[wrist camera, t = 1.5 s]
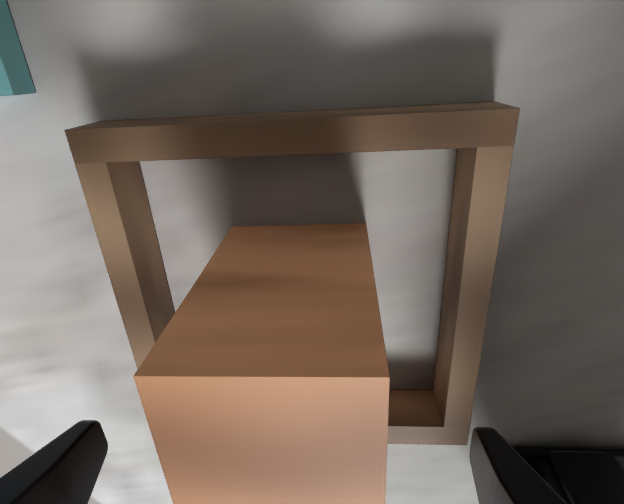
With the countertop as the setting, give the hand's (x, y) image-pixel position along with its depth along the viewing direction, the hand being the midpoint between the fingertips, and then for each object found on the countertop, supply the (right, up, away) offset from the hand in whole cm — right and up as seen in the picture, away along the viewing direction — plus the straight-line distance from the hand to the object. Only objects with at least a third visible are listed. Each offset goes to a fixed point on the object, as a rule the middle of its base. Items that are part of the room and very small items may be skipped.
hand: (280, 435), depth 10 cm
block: (0, +3, +6) cm, 7 cm away
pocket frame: (0, +3, +6) cm, 7 cm away
